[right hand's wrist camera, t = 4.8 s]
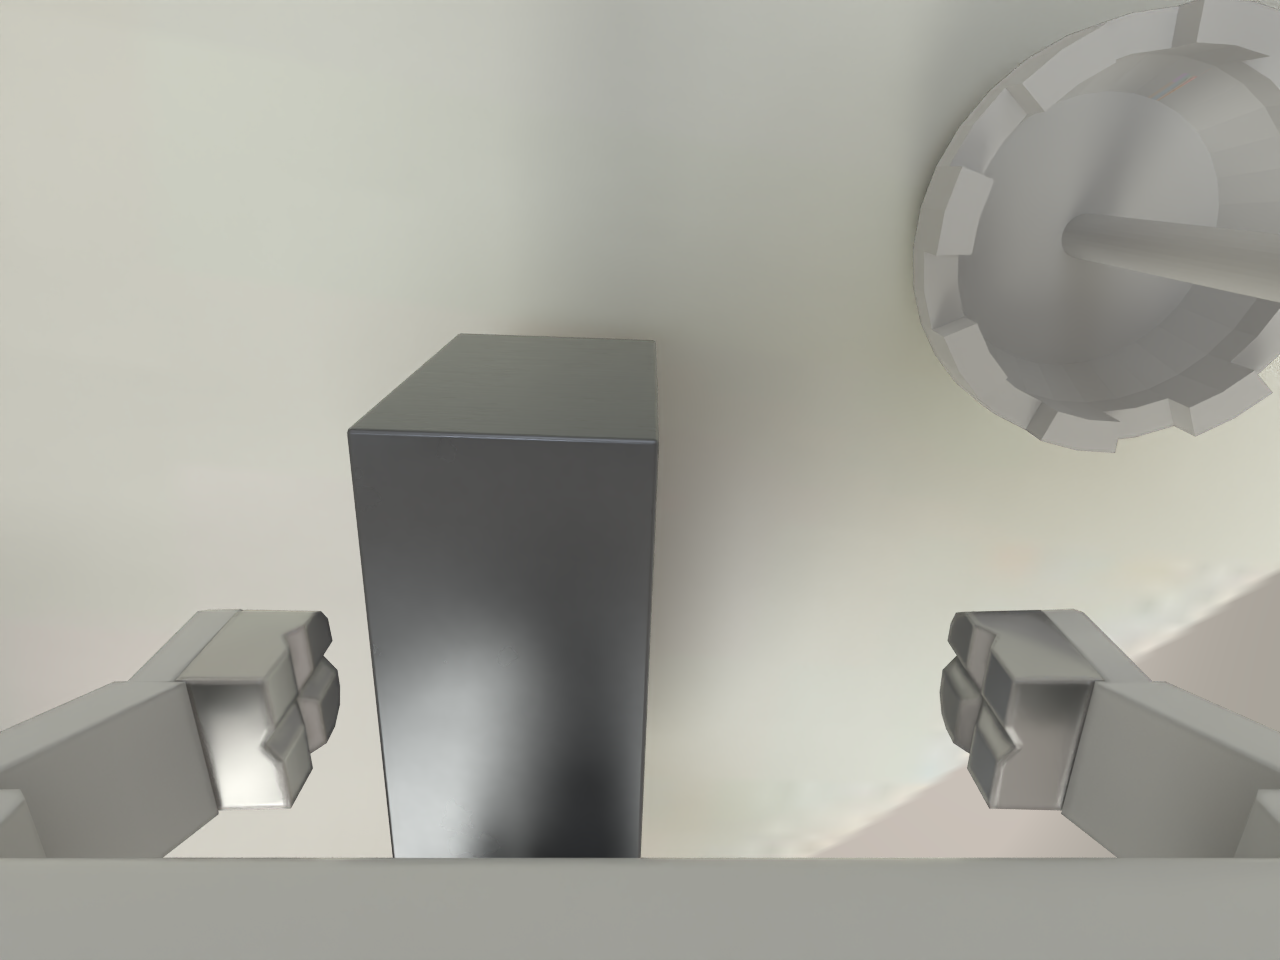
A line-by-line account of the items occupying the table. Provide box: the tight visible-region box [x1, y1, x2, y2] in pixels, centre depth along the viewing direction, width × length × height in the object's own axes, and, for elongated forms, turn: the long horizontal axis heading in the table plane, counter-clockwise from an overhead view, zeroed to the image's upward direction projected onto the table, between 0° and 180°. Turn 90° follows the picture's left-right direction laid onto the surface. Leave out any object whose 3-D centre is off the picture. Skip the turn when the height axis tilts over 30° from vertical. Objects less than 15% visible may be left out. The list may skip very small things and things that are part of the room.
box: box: [347, 334, 659, 858], centre depth 24 cm, size 24×6×10 cm, turn 178°
